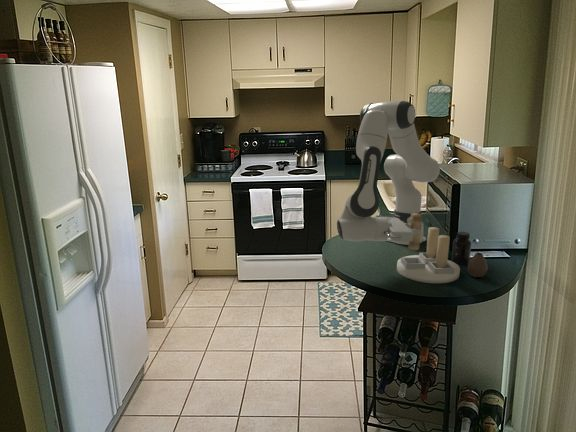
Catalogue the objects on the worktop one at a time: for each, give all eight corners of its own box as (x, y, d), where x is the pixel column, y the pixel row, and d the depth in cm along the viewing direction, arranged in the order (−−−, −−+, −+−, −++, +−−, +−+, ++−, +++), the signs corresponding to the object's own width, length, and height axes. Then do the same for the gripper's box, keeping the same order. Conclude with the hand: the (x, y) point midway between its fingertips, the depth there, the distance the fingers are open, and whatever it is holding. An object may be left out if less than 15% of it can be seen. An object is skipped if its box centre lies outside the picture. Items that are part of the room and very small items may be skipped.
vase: (472, 271, 186) (475, 249, 184) (489, 276, 181) (492, 254, 179) (463, 275, 182) (465, 253, 179) (480, 280, 177) (483, 258, 174)
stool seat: (389, 261, 195) (392, 224, 191) (445, 260, 197) (449, 223, 193) (407, 283, 173) (410, 242, 169) (469, 282, 175) (474, 241, 171)
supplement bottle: (447, 260, 198) (450, 231, 194) (460, 257, 200) (463, 230, 197) (459, 265, 192) (462, 236, 188) (472, 263, 194) (476, 234, 191)
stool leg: (406, 246, 184) (409, 213, 181) (417, 246, 184) (420, 213, 181) (410, 249, 180) (412, 216, 177) (420, 249, 180) (423, 216, 177)
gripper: (389, 228, 169) (428, 228, 169) (375, 214, 188) (410, 213, 189) (387, 246, 170) (426, 245, 171) (374, 229, 190) (408, 229, 191)
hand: (417, 229), depth 180 cm, fingers closed on stool leg, 4 cm apart
